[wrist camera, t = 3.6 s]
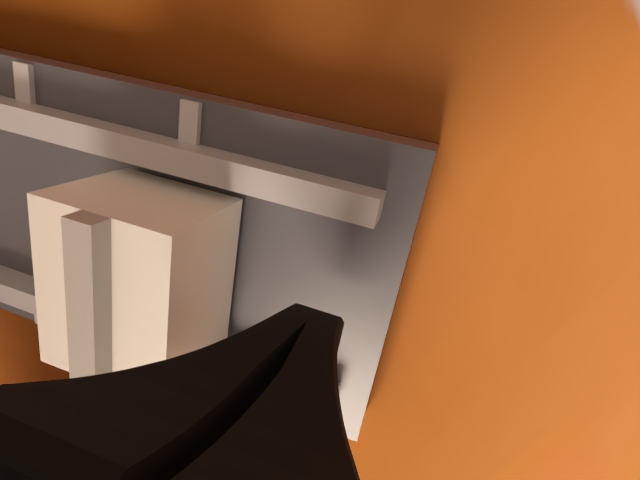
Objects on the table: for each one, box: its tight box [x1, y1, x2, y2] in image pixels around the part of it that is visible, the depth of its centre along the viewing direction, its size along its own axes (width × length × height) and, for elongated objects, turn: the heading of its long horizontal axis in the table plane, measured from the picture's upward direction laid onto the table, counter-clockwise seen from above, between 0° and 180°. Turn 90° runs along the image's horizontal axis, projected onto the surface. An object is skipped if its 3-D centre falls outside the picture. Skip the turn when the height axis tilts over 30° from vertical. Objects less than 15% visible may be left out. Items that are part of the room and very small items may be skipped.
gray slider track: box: [0, 48, 439, 442], centre depth 16 cm, size 10×26×2 cm, turn 80°
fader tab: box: [27, 168, 243, 378], centre depth 12 cm, size 5×4×4 cm
